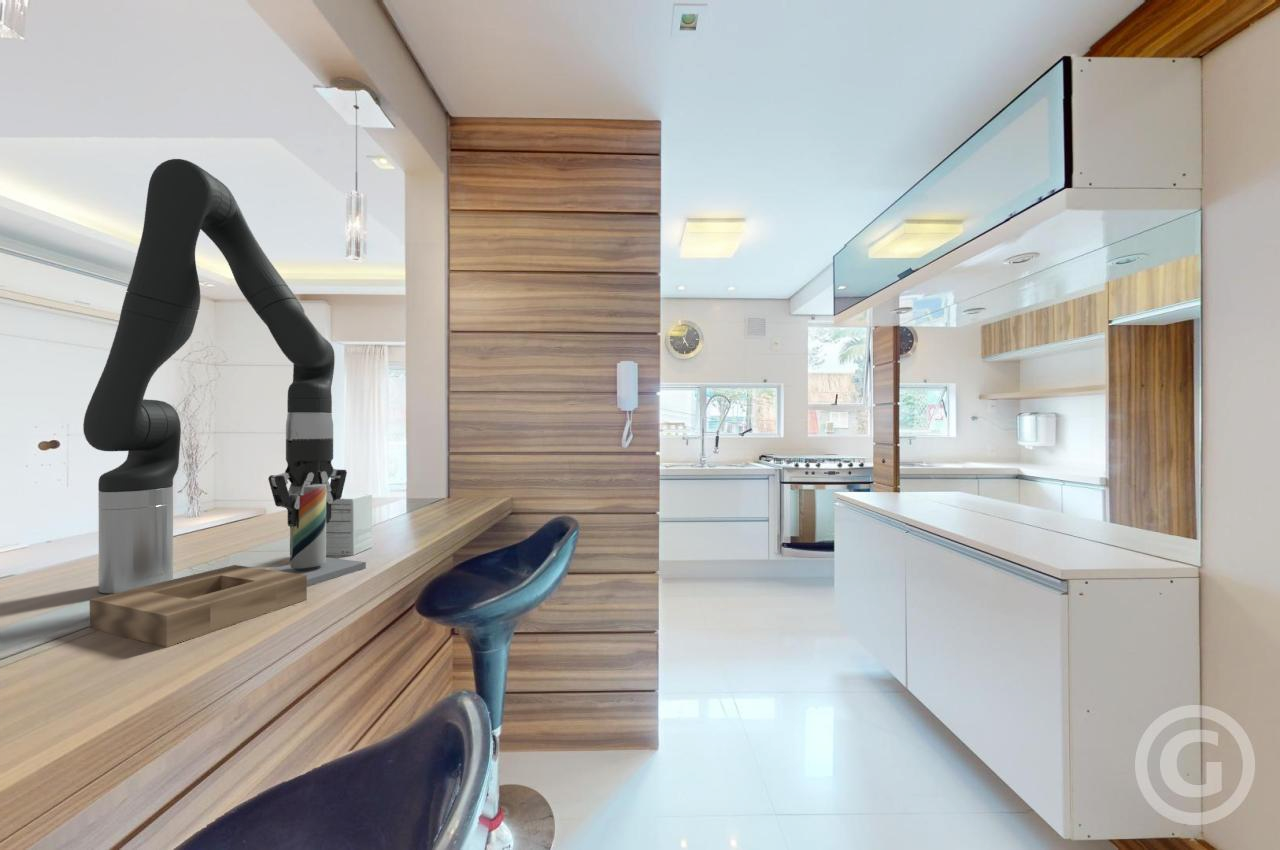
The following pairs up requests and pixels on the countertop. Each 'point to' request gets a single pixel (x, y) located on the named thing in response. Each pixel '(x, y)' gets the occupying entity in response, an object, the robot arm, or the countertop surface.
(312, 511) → the lotion bottle
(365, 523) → the supplement box
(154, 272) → the robot arm
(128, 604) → the block
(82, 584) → the countertop surface
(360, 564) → the rubber mat
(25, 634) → the countertop surface
